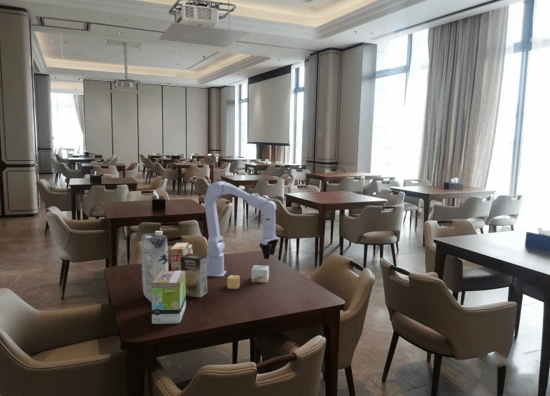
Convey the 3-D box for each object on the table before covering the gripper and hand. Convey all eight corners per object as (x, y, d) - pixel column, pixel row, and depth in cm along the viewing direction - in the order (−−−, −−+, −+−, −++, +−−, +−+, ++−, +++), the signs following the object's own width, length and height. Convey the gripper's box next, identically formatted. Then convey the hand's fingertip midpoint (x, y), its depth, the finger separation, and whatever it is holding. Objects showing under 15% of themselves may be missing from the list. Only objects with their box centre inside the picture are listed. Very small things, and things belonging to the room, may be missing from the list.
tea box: (181, 323, 149) (180, 282, 147) (151, 324, 148) (149, 282, 147) (186, 307, 164) (185, 269, 162) (159, 308, 163) (158, 270, 161)
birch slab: (251, 282, 194) (251, 276, 194) (254, 277, 201) (254, 271, 201) (267, 283, 194) (267, 276, 193) (269, 278, 201) (269, 272, 200)
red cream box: (181, 261, 229) (180, 238, 228) (193, 261, 229) (192, 238, 227) (170, 273, 208) (170, 248, 206) (184, 273, 208) (183, 248, 206)
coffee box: (180, 295, 177) (179, 256, 175) (188, 290, 183) (187, 253, 181) (200, 298, 174) (199, 258, 172) (208, 292, 180) (207, 255, 178)
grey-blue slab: (251, 276, 194) (251, 269, 194) (254, 271, 201) (253, 265, 201) (266, 276, 193) (266, 270, 193) (269, 272, 200) (268, 265, 200)
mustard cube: (227, 288, 186) (227, 278, 185) (229, 285, 190) (229, 275, 190) (237, 288, 185) (237, 278, 185) (239, 285, 190) (239, 275, 189)
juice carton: (148, 303, 168) (146, 235, 164) (141, 296, 176) (138, 230, 173) (171, 299, 172) (169, 232, 169) (162, 292, 181) (160, 228, 178)
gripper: (272, 231, 190) (272, 261, 191) (282, 225, 203) (281, 253, 205) (257, 230, 192) (257, 260, 193) (267, 224, 205) (267, 252, 207)
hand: (269, 256), depth 199 cm, fingers open, 7 cm apart
